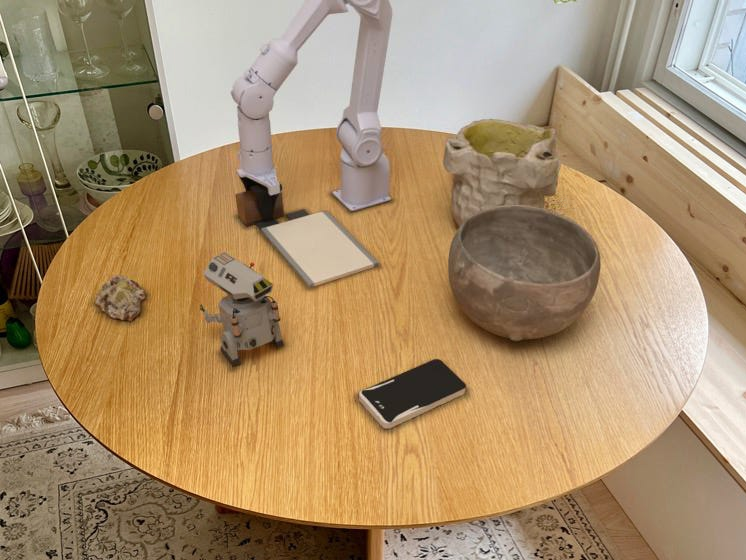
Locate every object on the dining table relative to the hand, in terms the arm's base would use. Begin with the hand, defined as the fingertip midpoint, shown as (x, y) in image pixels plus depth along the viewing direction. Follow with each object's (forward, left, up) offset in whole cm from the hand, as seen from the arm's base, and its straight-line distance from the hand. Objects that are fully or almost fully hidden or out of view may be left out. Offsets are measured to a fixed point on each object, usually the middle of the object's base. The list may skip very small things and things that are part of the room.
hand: (261, 210), depth 146 cm
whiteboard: (-4, +15, -1) cm, 16 cm away
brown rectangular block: (0, 0, -1) cm, 1 cm away
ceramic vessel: (-40, +23, -2) cm, 46 cm away
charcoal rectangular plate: (-6, +3, -1) cm, 7 cm away
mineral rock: (+32, +14, -2) cm, 35 cm away
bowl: (-24, +48, -2) cm, 54 cm away
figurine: (+18, +33, -2) cm, 38 cm away
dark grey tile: (0, +3, -1) cm, 4 cm away
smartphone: (+1, +56, -2) cm, 56 cm away
